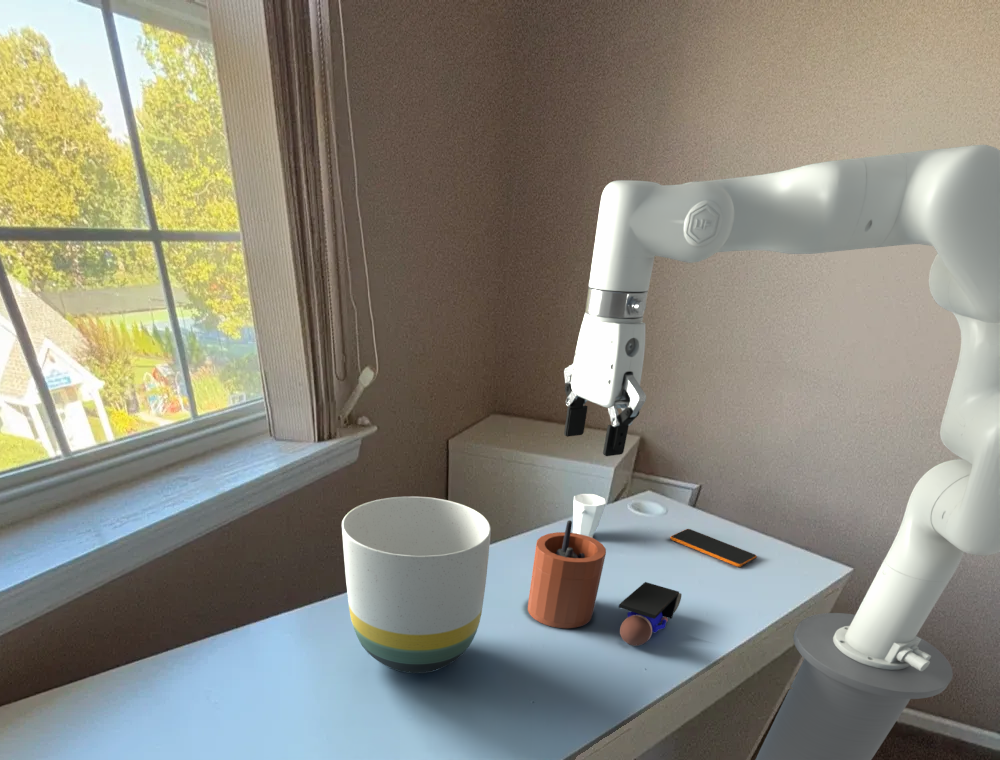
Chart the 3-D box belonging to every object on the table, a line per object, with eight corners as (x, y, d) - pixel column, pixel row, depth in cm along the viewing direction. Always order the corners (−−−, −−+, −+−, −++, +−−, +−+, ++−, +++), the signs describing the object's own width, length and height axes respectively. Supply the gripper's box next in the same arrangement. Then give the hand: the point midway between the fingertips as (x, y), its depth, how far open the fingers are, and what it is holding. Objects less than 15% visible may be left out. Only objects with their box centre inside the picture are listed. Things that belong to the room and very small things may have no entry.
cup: (603, 535, 136) (611, 498, 131) (587, 551, 130) (594, 513, 124) (573, 527, 139) (579, 490, 134) (555, 543, 132) (561, 505, 127)
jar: (604, 621, 109) (619, 555, 101) (549, 633, 104) (561, 566, 97) (568, 591, 116) (579, 528, 108) (515, 602, 112) (523, 537, 104)
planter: (431, 715, 87) (436, 572, 73) (323, 665, 94) (309, 527, 80) (502, 652, 100) (517, 520, 86) (402, 612, 107) (402, 486, 93)
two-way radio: (545, 599, 111) (558, 516, 102) (569, 598, 112) (584, 516, 102) (554, 615, 107) (568, 530, 97) (579, 614, 108) (596, 530, 98)
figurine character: (638, 614, 114) (607, 641, 103) (650, 574, 110) (619, 598, 99) (674, 626, 111) (646, 656, 100) (687, 586, 107) (660, 612, 96)
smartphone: (739, 568, 127) (740, 564, 127) (668, 540, 136) (669, 536, 136) (757, 558, 131) (758, 554, 131) (687, 531, 140) (688, 527, 140)
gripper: (683, 315, 77) (651, 460, 88) (599, 296, 89) (579, 426, 100) (634, 317, 75) (607, 466, 86) (554, 297, 86) (539, 430, 97)
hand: (592, 444), depth 93 cm, fingers open, 9 cm apart
